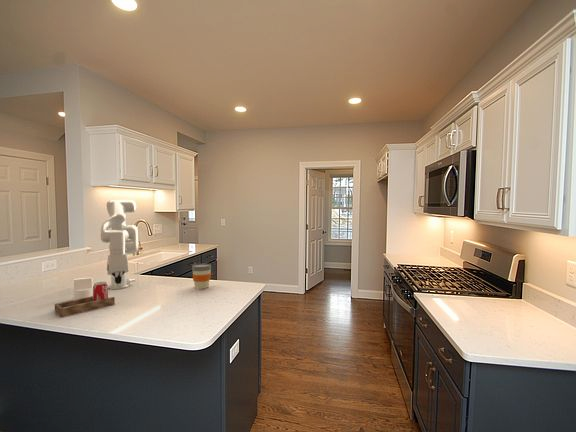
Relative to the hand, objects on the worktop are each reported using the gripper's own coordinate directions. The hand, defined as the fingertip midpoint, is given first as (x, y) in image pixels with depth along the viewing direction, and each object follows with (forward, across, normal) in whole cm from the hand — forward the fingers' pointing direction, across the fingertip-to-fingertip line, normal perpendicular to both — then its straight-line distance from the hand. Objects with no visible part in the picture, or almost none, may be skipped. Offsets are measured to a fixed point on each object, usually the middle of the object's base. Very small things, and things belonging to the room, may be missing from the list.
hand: (118, 283), depth 162 cm
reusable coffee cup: (+10, -47, +12) cm, 50 cm away
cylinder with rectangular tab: (+10, +12, -20) cm, 26 cm away
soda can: (+10, +9, 0) cm, 14 cm away
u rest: (+10, +16, 0) cm, 19 cm away
